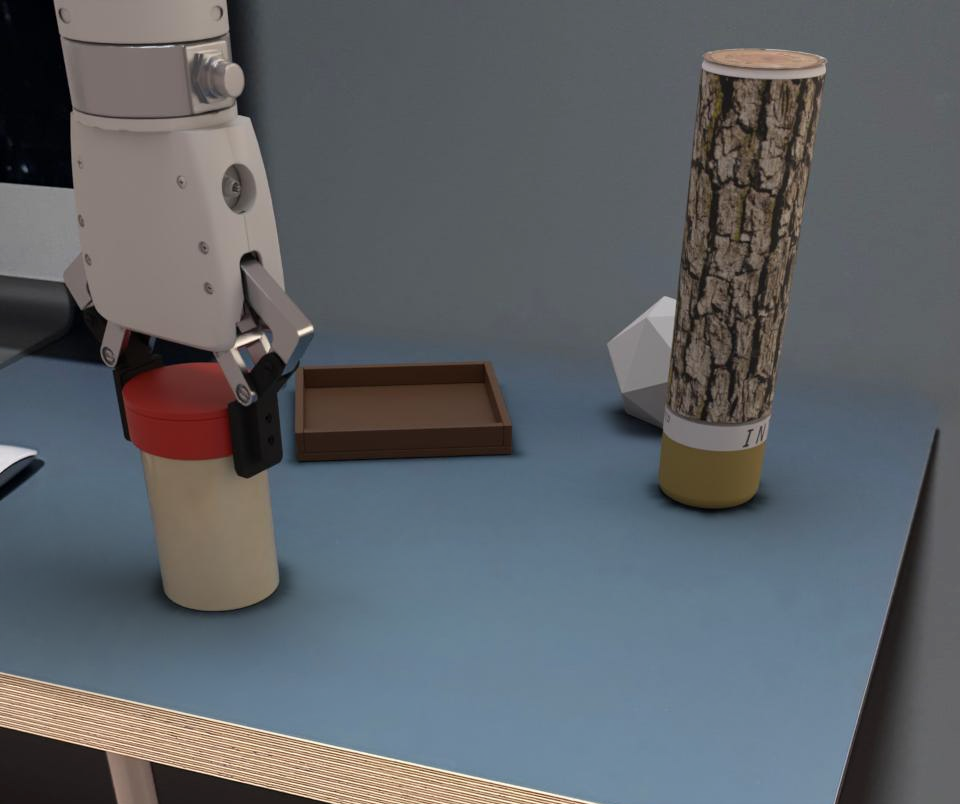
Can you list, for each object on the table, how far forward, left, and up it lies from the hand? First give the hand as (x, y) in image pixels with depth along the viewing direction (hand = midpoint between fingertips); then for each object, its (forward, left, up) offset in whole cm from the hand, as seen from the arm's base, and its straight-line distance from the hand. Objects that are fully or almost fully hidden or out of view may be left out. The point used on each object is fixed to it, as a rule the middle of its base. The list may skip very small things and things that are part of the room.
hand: (203, 449), depth 69 cm
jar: (0, 0, -8) cm, 8 cm away
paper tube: (+32, +10, -8) cm, 35 cm away
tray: (+12, +24, -8) cm, 28 cm away
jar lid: (0, 0, +3) cm, 3 cm away
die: (+32, +23, -8) cm, 40 cm away
